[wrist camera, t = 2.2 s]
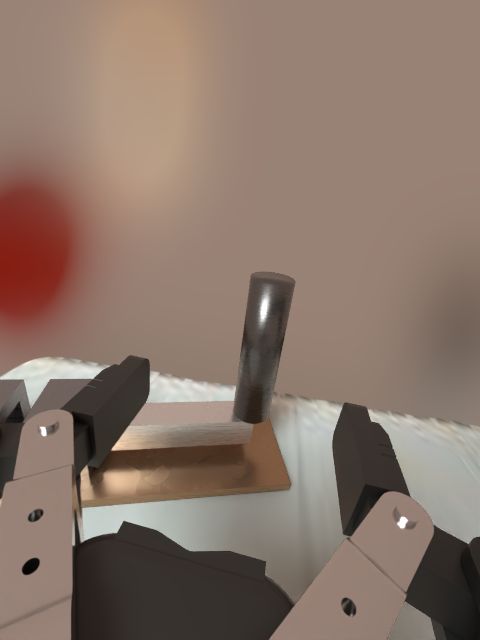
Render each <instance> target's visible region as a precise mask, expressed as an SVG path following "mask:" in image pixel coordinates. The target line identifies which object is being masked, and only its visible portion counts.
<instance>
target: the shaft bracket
mask: <svg viewBox="0 0 480 640" xmlns="http://www.w3.org/2000/svg"><path fill="white" fill-rule="evenodd" d="M91 380H92V379H50V380H49V382H48V384H47V385H46V387H45V388H44V390H43V391H42V393H41V395H40V396H39V398H38V399H37V401H36V402H35V404H34V405H33V407H32V409H31V408H30V404H29V400H28V396H27V392H26V387H25V383H24V380H0V423H26V422H27V421H28V420H29V419H30V418H32V417H33V416H35V415H37V414H39V413H41V412H44V411H48V410H57V409H58V410H60V409H61V408H62V407H63V406H64V405H65V404H66V403H67V402H68V401H69V400H70V399H72V398H73V397H74V396H75V395H76V394H77V393H78V392H79V391H80V390H81V389H83V388H84V387H85V386H87V384H88V383H89V382H90V381H91ZM93 380H94V379H93ZM80 474H81V491H82V508H83V507H95V506H107V505H118V504H130V503H142V502H153V501H165V500H177V499H189V498H200V497H212V496H224V495H235V494H247V493H259V492H270V491H282V490H289V488H290V485H291V483H290V480H289V477H288V474H287V471H286V468H285V465H284V462H283V459H282V456H281V453H280V450H279V447H278V444H277V442H276V439H275V436H274V433H273V430H272V427H271V424H270V421H269V418H267V419H266V420H265V421H264V422H262V423H258V424H254V425H253V431H252V436H251V442H250V443H248V444H229V445H210V446H190V447H171V448H152V449H133V450H114V451H110V452H109V454H108V455H107V457H106V458H105V459H104V461H103V462H102V463H101V465H100V466H99V468H96V467H92V466H88V465H86V466H85V468H84V469H83V470H82V472H81V473H80ZM1 500H2V498H1V499H0V505H1Z"/></svg>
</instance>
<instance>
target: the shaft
mask: <svg viewBox="0 0 480 640" xmlns="http://www.w3.org/2000/svg"><path fill="white" fill-rule="evenodd" d="M294 286H295V280H294V279H293V278H291V277H289V276H286V275H283V274H279V273H274V272H256V273H253V274H251V279H250V286H249V294H248V302H247V309H246V316H245V324H244V331H243V339H242V347H241V354H240V362H239V370H238V377H237V384H236V392H235V399H234V401H214V402H172V403H145V404H144V406H143V407H142V408H141V410H140V411H139V413H138V414H137V415H136V417H135V418H134V419H133V421H132V422H131V424H130V425H129V426H128V428H127V429H126V430H125V432H124V433H123V435H122V436H121V437H120V439H119V440H118V441H117V443H116V444H115V446H114V447H113V448H112V450H111V451H114V450H133V449H152V448H171V447H190V446H210V445H229V444H248V443H250V442H251V436H252V431H253V425H254V424H258V423H262V422H264V421H265V420H266V419H267V418H268V416H269V411H270V406H271V401H272V396H273V391H274V386H275V381H276V376H277V371H278V366H279V361H280V356H281V351H282V346H283V341H284V336H285V331H286V326H287V321H288V317H289V311H290V306H291V302H292V296H293V292H294Z"/></svg>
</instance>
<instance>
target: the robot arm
mask: <svg viewBox="0 0 480 640" xmlns="http://www.w3.org/2000/svg"><path fill="white" fill-rule="evenodd" d="M149 390H150V365H149V360H148V359H145V358H140V357H136V356H132V355H130V356H128V357H127V358H126V359H125V360H124V361H123V362H122V363H121V364H120V365H116V364H115V365H112V366H110V367H108V368H106V369H104V370H102V371H101V372H100V373H99V374H98V375H97V376H96V377H95V378H94V380H93V379H92V380H91V381H90V382H89V383H88V384H87V386H85V387H84V388H83V389H81V390H80V391H79V392H78V393H77V394H76V395H75V396H74V397H73V398H72V399H70V400H69V401H68V402H67V403H66V404H65V405H64V406H63V407H62V408H61V409H60V410H58V409H57V410H48V411H44V412H41V413H39V414H37V415H35V416H33V417H32V418H30V419H29V420H28V421H27V422H26V423H0V499H1V498H2V500H1V505H0V640H386V639H387V637H388V635H389V633H390V631H391V629H392V627H393V625H394V622H395V620H396V618H397V616H398V614H399V612H400V610H401V608H402V606H403V603H404V601H406V602H407V603H409V604H410V605H412V606H413V607H415V608H416V609H418V610H419V611H421V612H423V613H424V614H426V615H427V616H429V617H430V618H431V622H432V626H433V630H434V633H435V637H436V640H480V537H476V538H474V539H473V540H472V541H471V542H470V543H469V544H467V543H465V542H463V541H461V540H459V539H458V538H456V537H454V536H452V535H450V534H448V533H446V532H444V531H442V530H441V529H439V528H437V527H436V526H435V525H433V523H432V520H431V518H430V516H429V515H428V513H427V512H426V511H425V510H424V508H423V507H422V506H421V505H420V504H419V503H417V502H416V501H415V500H414V499H412V498H411V497H410V494H409V491H408V488H407V485H406V483H405V480H404V477H403V474H402V472H401V469H400V466H399V463H398V460H397V459H396V455H395V452H394V449H392V447H393V446H392V444H391V441H390V438H389V435H388V434H387V433H386V431H385V430H384V429H383V428H382V427H381V425H380V424H379V423H375V422H371V420H370V417H369V413H368V410H367V408H366V407H365V406H360V405H356V404H351V403H344V405H343V408H342V411H341V413H340V416H339V419H338V422H337V425H336V428H335V431H334V435H333V442H332V449H333V457H334V465H335V473H336V481H337V489H338V497H339V505H340V513H341V521H342V529H343V534H344V535H347V536H351V537H350V538H348V537H347V538H346V539H345V540H344V541H343V543H342V544H341V545H340V547H339V548H338V549H337V550H336V552H335V553H334V554H333V556H332V557H331V558H330V560H329V561H328V562H327V564H326V565H325V566H324V568H323V569H322V570H321V572H320V573H319V574H318V576H317V577H316V578H315V579H314V581H313V582H312V583H311V585H310V586H309V587H308V589H307V590H306V591H305V593H304V594H303V595H302V597H301V598H300V599H299V601H298V602H297V603H296V605H295V604H294V602H293V601H292V600H291V598H290V597H289V596H288V594H287V593H286V592H285V591H284V590H283V589H282V588H281V587H280V586H279V585H278V584H276V583H275V582H274V581H273V580H272V579H270V578H269V577H267V576H266V575H265V566H266V561H263V560H259V559H256V558H252V557H249V556H245V555H242V554H238V553H234V552H231V551H199V552H193V551H188V550H186V549H185V548H183V547H182V546H180V545H179V544H177V543H175V542H174V541H172V540H171V539H169V538H168V537H166V536H165V535H163V534H162V533H160V532H159V531H157V530H154V529H150V528H147V527H143V526H140V525H136V524H132V523H129V522H125V521H123V523H122V525H121V527H120V529H119V531H118V532H117V533H111V534H105V535H100V536H97V537H93V538H91V539H88V540H85V541H84V535H83V519H82V491H81V474H80V473H81V472H82V470H83V469H84V468H85V466H86V465H88V466H92V467H96V468H99V466H100V465H101V463H102V462H103V461H104V459H105V458H106V457H107V455H108V454H109V452H110V451H111V450H112V448H113V447H114V446H115V444H116V443H117V441H118V440H119V439H120V437H121V436H122V435H123V433H124V432H125V430H126V429H127V428H128V426H129V425H130V424H131V422H132V421H133V419H134V418H135V417H136V415H137V414H138V413H139V411H140V410H141V408H142V407H143V406H144V404H145V403H146V401H147V398H148V395H149Z"/></svg>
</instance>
